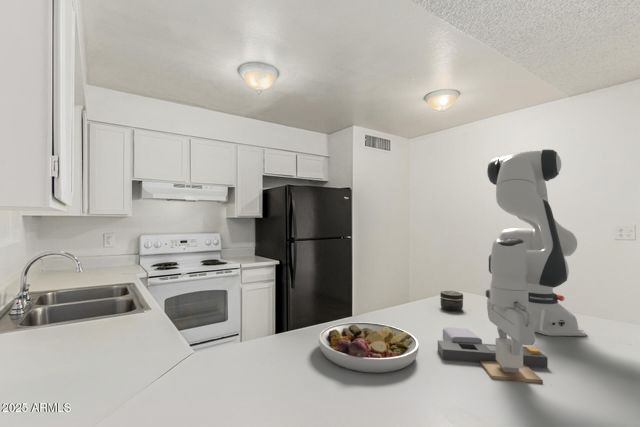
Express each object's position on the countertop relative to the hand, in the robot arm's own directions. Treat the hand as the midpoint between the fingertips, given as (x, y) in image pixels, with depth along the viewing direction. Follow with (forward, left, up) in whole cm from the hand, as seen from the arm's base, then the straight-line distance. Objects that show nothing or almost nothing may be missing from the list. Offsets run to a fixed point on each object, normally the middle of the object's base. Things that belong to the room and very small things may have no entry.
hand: (509, 349), depth 84 cm
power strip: (+2, -8, -6) cm, 11 cm away
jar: (-1, -63, -6) cm, 64 cm away
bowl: (+38, -5, -7) cm, 39 cm away
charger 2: (0, 0, -5) cm, 5 cm away
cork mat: (0, 0, -6) cm, 6 cm away
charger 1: (+8, -20, -7) cm, 22 cm away
